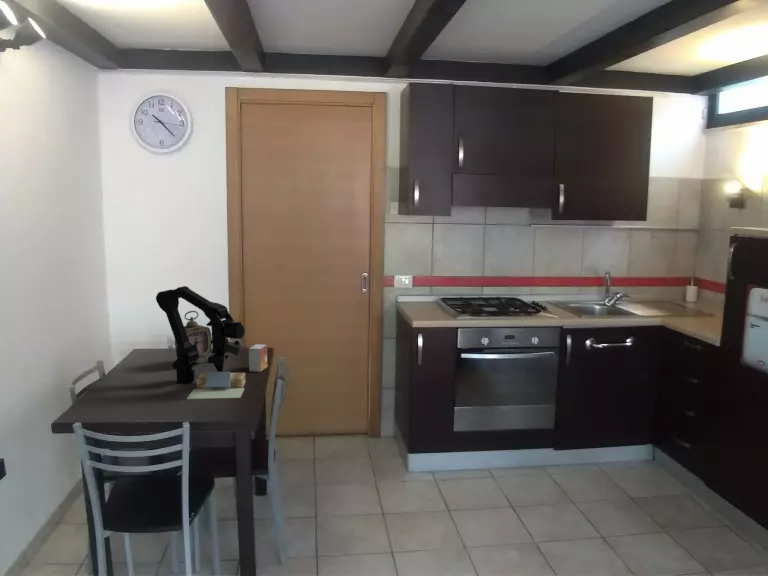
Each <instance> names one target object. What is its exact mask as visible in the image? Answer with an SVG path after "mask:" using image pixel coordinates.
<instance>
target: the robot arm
mask: <svg viewBox="0 0 768 576" xmlns="http://www.w3.org/2000/svg"><path fill="white" fill-rule="evenodd" d="M179 299H183V300H184V301H185V302H187V303H189V304H191V305H192V306H194V307H195V308H197V309H199V310H201V311H202V313H204V315H205V316H206V317H207V318H208V320H209V322H207V323H206V327H211V329H210V330H211V338H212V340H211V343H212V348H211V353H210V354H209V355H208V358H207V359H208V362H207V364H213V366H214V367H215V369H216V372H224V368H225V362H226V361H227V360H228V358H229V356H230V354H233V355H234V356H239V355H240V353H241V350H242V346H243V345H242V344H241V342H240V340H241V339H243V338H244V336H245V332H246V329H245V327H244V325H242V321H235V320H234V318H233V317H232V316H231V313H229V310H228V307H227V306H225V305H223V304H222V303H219V302H214V301H210V300H208V299H207V298H205V297H203V295H200V294H199V293H197V292H196V291H194V290H192V289H191V288H190V287H189V286H186V285H183V286H180V287H177V288H175V289H167V290H162V291H158V293H157V294H156V296H155V301H156V303H157V304H158V306H159V308H160V309H161V310H162V311H163V312H164V313H165V314H166V318H167V320H168V323H169V325H170V329H171V331H172V334H173V337H174V341H175V340H176V343H177V352H176V351H175V353H176V357H177V358H176V360H175V361H174V362H172V364H171V365H172V368H173V370H176V382H175V384H177V385H178V384H179V385H180V384H182V385H183V384H193V382H194V381H195V380H196V370H195V369H194V366H196V365H197V363H198V361H199V359H200V358H199V354H198V353H199V351H198V349H197V345H196V344H194V345H192V344H191V343H190V342H189V339H188V336H187V334H186V331H185V328H184V326H185V325H184V323H183V320H182V317H181V314H180V312H179V303H180V300H179ZM229 339H233V340H235V341H234V342H233V341H229ZM227 353H230V354H229V355H228V354H227ZM226 354H227V355H226ZM198 358H199V359H198Z"/></svg>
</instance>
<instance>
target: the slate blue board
mask: <svg viewBox="0 0 768 576" xmlns="http://www.w3.org/2000/svg"><path fill="white" fill-rule="evenodd" d="M206 373H207V381H206V387H207V388H221V389H224V388H230V381H231V373H232V372H231V371H223V372H218V371H207V372H206Z"/></svg>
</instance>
